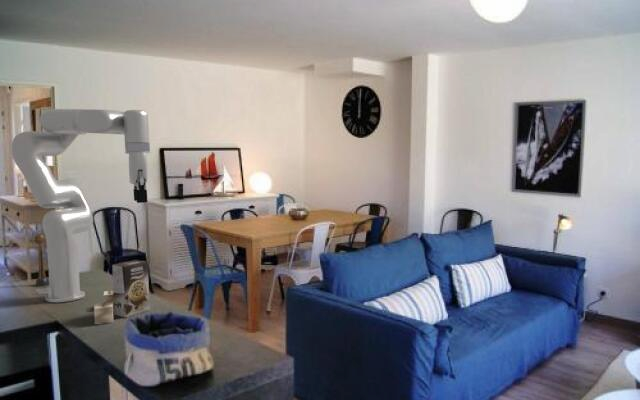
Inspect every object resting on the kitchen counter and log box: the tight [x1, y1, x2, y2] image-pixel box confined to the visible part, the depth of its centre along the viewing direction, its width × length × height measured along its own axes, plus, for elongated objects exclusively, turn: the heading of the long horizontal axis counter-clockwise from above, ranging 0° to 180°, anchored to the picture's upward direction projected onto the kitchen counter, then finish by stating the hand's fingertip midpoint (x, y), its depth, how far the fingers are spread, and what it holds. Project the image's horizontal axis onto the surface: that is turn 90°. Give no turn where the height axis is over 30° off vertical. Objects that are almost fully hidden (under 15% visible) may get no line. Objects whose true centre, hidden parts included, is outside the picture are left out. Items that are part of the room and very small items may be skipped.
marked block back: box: [103, 290, 114, 310], centre depth 172 cm, size 5×5×5 cm
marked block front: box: [93, 302, 114, 325], centre depth 157 cm, size 5×5×5 cm
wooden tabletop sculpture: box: [29, 233, 50, 287], centre depth 202 cm, size 6×5×20 cm
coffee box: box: [112, 259, 150, 318], centre depth 165 cm, size 9×6×16 cm
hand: (140, 201), depth 170 cm, fingers open, 9 cm apart
